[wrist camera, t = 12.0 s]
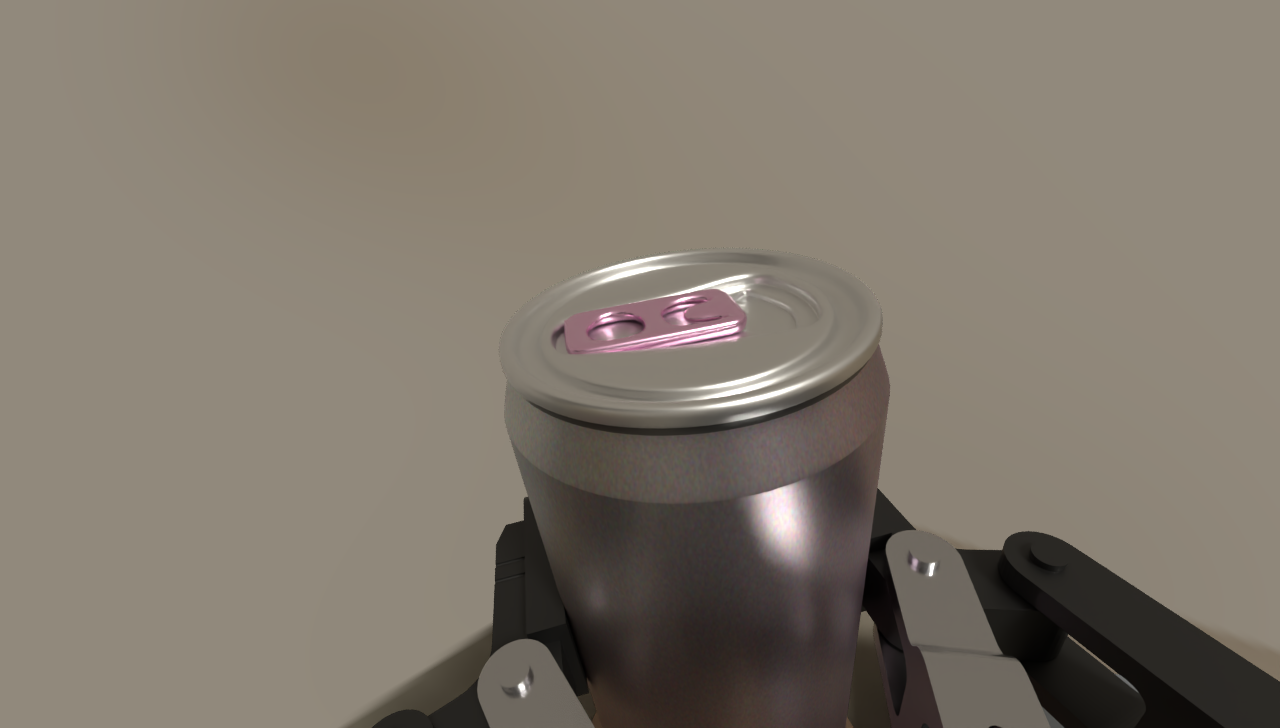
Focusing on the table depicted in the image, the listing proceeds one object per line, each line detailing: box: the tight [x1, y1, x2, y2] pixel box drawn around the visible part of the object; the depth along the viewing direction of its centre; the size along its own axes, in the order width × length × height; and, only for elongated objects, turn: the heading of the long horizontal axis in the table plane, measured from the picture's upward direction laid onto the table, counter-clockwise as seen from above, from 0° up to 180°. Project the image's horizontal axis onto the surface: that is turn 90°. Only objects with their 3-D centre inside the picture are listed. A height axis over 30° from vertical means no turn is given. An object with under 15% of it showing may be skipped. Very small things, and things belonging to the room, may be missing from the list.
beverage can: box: [499, 248, 890, 728], centre depth 11 cm, size 6×6×15 cm
